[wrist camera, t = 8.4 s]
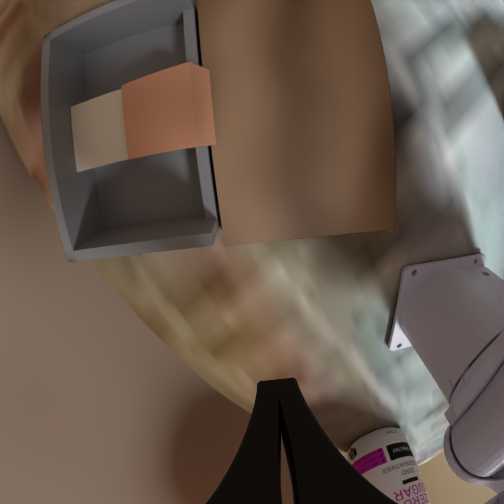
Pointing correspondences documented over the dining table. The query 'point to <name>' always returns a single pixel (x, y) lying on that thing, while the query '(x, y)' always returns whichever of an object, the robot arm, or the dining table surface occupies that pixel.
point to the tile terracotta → (168, 111)
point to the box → (135, 170)
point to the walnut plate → (299, 118)
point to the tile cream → (99, 131)
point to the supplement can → (389, 465)
